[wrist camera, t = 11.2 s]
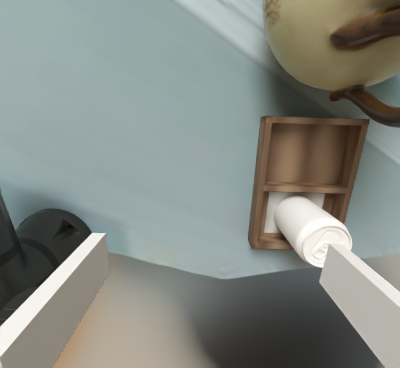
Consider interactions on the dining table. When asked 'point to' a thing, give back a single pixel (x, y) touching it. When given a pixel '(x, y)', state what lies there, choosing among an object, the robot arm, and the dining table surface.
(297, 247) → the beverage can
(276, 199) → the tray
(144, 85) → the dining table surface
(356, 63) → the pitcher
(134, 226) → the dining table surface
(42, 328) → the robot arm
